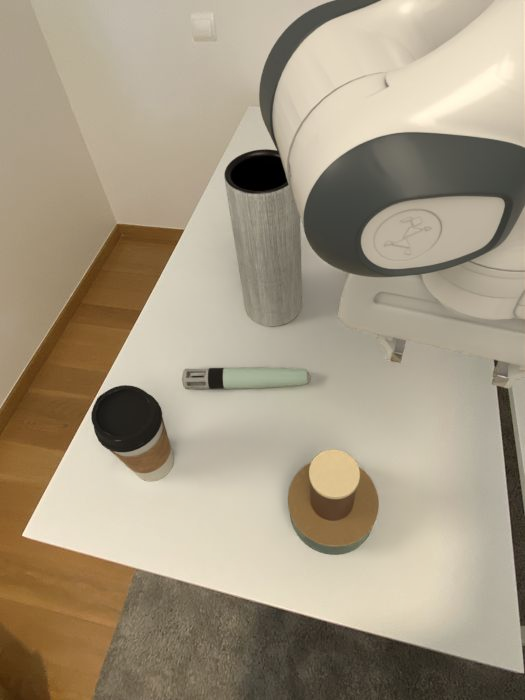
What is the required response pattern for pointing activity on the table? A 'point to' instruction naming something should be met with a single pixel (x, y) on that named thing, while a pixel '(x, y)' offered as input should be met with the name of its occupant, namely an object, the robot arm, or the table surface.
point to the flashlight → (246, 377)
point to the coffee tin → (332, 533)
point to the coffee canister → (333, 484)
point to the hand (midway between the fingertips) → (446, 368)
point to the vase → (265, 236)
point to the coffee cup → (134, 431)
